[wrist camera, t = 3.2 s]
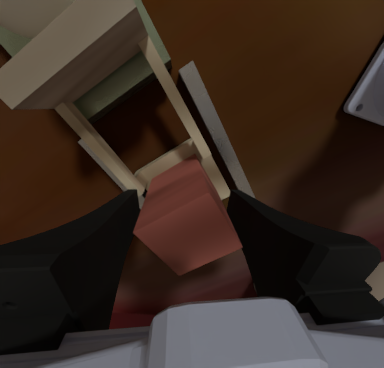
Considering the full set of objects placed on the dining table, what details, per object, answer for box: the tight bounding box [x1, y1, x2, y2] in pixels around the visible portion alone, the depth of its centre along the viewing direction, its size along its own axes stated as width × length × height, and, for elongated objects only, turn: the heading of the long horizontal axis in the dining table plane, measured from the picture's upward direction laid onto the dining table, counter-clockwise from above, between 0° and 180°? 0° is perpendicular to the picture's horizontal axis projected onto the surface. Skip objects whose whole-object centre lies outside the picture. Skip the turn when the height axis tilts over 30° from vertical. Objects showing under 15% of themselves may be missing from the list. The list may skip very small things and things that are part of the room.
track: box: [0, 0, 255, 209], centre depth 11 cm, size 24×9×2 cm, turn 30°
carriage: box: [0, 0, 243, 276], centre depth 9 cm, size 12×6×7 cm, turn 30°
